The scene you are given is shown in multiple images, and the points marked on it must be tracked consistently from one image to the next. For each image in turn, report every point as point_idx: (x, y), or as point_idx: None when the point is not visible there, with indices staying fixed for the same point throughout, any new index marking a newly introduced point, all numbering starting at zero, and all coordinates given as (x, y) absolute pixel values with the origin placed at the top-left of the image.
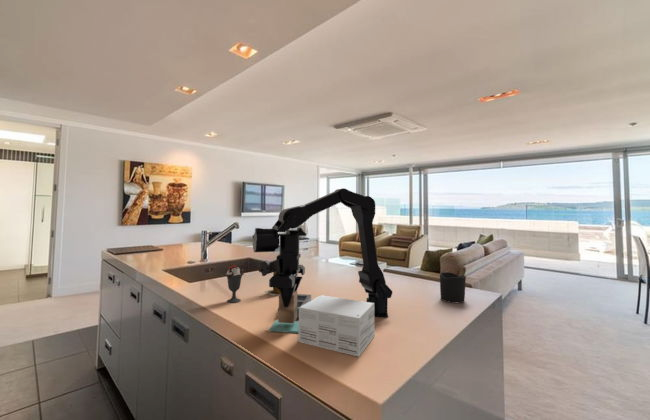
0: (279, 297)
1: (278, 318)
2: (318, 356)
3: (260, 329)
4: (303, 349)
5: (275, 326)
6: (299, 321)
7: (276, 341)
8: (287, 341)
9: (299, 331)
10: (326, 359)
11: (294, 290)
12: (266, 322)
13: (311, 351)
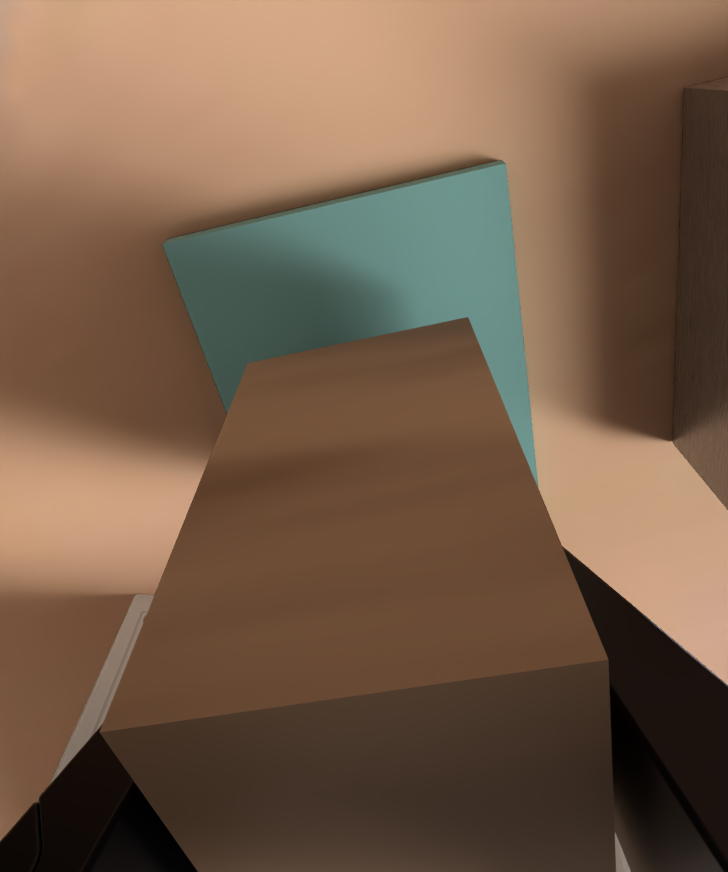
0: (134, 665)
1: (239, 387)
2: (31, 750)
3: (149, 85)
4: (47, 663)
5: (277, 281)
6: (53, 777)
7: (13, 443)
8: (79, 525)
9: (98, 680)
10: (32, 785)
11: (642, 870)
12: (419, 13)
13: (58, 707)
